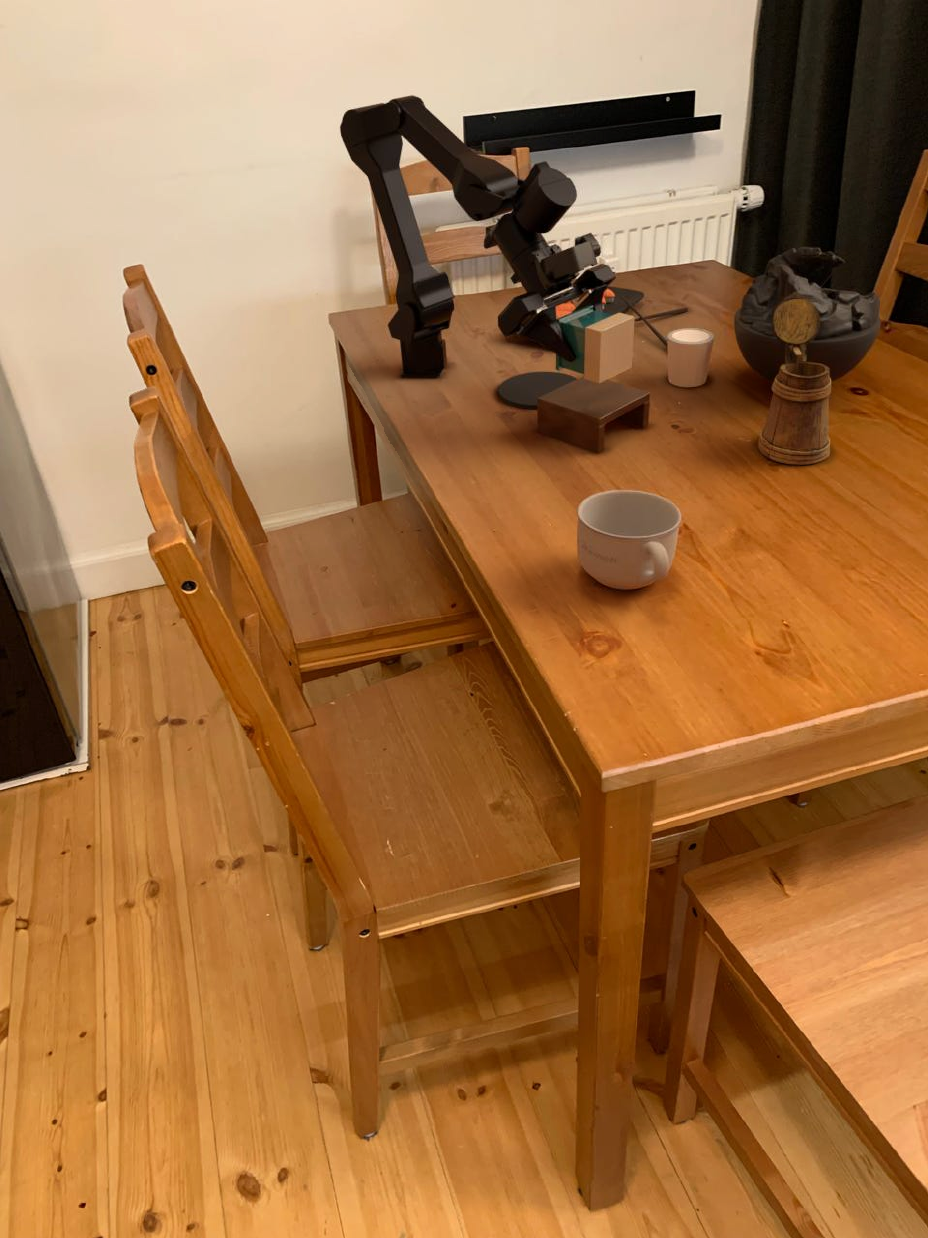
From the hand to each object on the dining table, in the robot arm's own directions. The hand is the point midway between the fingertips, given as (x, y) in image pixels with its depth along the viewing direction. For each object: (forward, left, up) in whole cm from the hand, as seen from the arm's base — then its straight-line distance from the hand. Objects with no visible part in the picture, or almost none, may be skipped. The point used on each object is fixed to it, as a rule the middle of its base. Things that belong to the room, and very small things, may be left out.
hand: (590, 352), depth 129 cm
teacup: (+7, -38, -11) cm, 41 cm away
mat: (-8, +13, -11) cm, 18 cm away
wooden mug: (+27, -3, -11) cm, 29 cm away
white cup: (+14, +18, -11) cm, 25 cm away
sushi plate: (+2, +41, -11) cm, 42 cm away
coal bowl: (+30, +17, -11) cm, 36 cm away
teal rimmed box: (0, 0, -2) cm, 2 cm away
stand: (+1, 0, -11) cm, 11 cm away
